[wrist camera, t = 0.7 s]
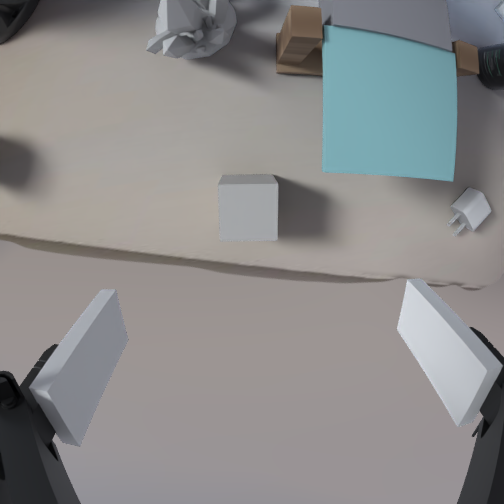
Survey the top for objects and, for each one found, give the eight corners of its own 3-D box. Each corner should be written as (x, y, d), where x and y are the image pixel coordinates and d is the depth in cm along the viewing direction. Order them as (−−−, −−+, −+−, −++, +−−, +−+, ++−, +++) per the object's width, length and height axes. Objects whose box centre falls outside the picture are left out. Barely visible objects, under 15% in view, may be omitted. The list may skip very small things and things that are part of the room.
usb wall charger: (476, 205, 40) (492, 213, 36) (449, 235, 42) (463, 245, 38) (466, 186, 39) (482, 192, 35) (437, 216, 41) (452, 224, 37)
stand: (276, 35, 32) (290, -5, 20) (417, 55, 32) (476, 38, 20) (276, 73, 34) (292, 47, 22) (419, 89, 34) (479, 83, 22)
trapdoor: (311, -12, 23) (321, -33, 18) (427, 12, 23) (451, 1, 19) (313, 166, 30) (326, 173, 25) (430, 173, 30) (455, 182, 26)
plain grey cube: (222, 174, 38) (217, 184, 32) (272, 174, 38) (278, 183, 32) (223, 222, 40) (220, 241, 34) (271, 221, 41) (277, 240, 34)
